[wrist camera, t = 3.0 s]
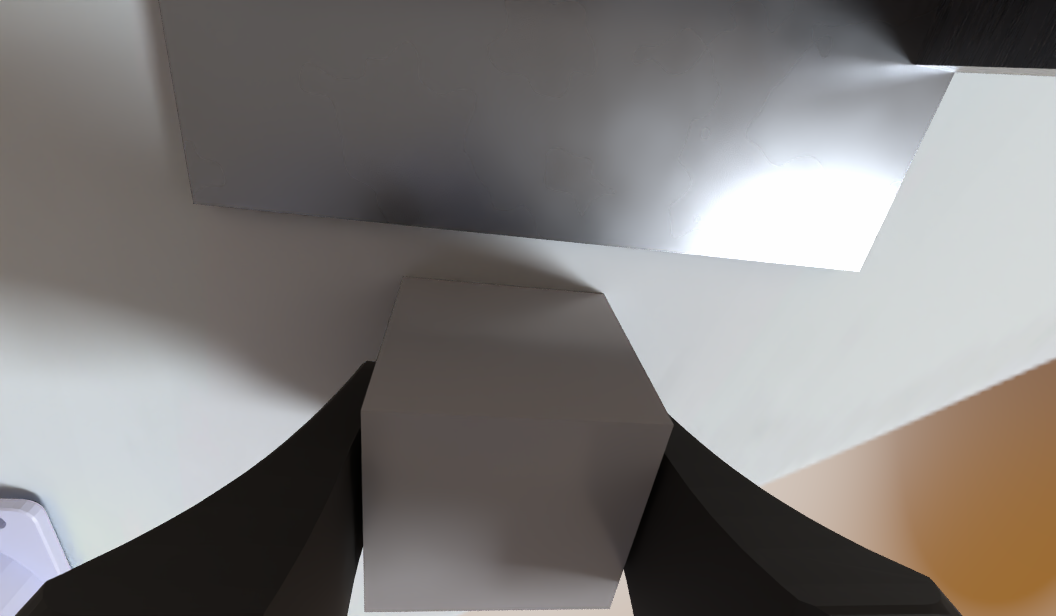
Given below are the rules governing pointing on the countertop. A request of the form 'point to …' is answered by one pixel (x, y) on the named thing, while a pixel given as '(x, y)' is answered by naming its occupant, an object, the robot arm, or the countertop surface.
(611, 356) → the grey cube
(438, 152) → the trapdoor frame
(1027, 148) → the countertop surface
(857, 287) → the countertop surface
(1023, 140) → the countertop surface
